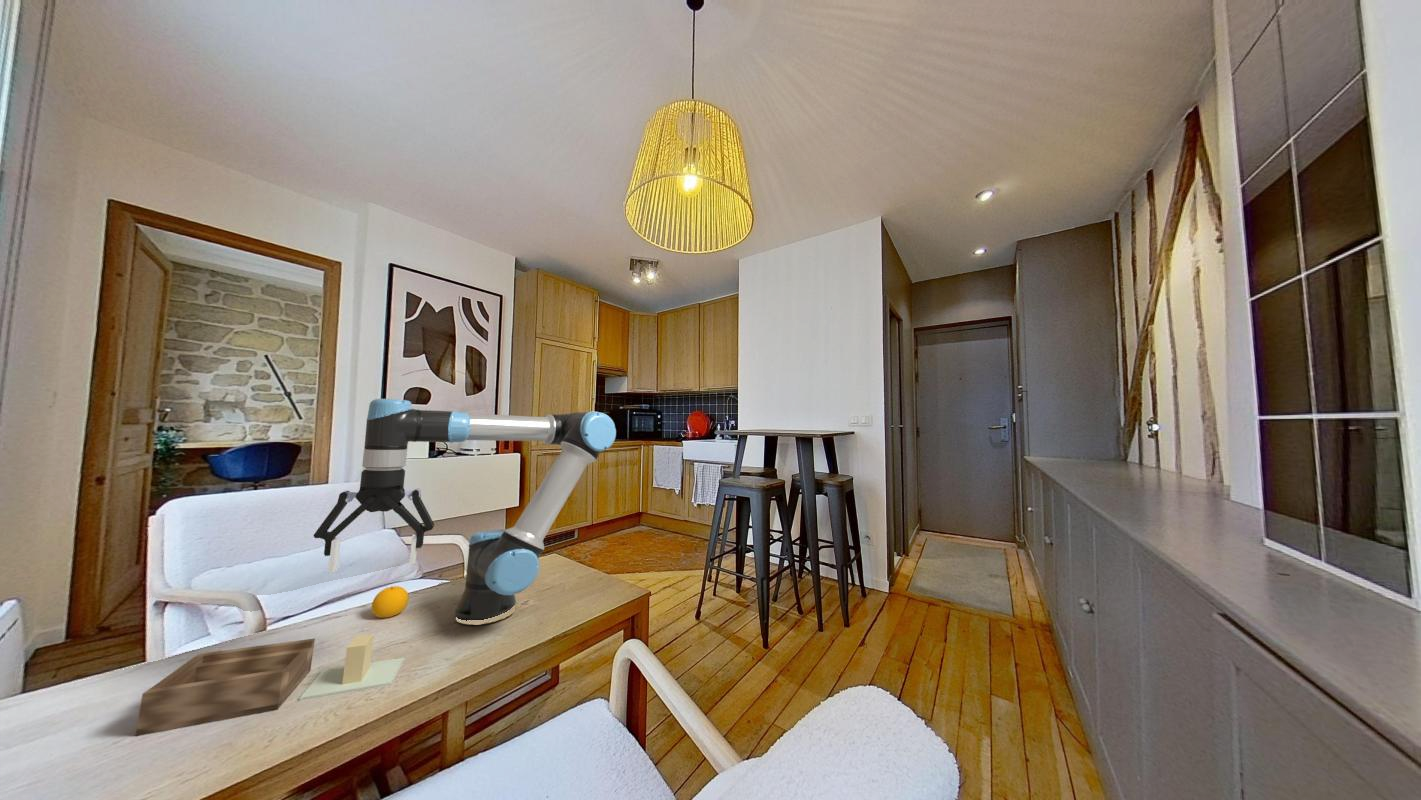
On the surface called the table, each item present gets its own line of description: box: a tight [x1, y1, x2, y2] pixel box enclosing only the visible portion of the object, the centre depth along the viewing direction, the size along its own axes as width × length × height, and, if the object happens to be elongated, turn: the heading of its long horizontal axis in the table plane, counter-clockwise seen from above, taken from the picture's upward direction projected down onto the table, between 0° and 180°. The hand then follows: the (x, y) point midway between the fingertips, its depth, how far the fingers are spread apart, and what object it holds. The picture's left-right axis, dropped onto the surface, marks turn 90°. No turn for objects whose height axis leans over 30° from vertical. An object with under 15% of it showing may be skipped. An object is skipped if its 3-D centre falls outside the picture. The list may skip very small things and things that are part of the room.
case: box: [134, 638, 316, 737], centre depth 75 cm, size 17×13×6 cm
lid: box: [298, 633, 405, 701], centre depth 83 cm, size 14×10×8 cm
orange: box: [371, 585, 410, 619], centre depth 111 cm, size 8×8×8 cm
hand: (374, 567), depth 87 cm, fingers open, 13 cm apart
